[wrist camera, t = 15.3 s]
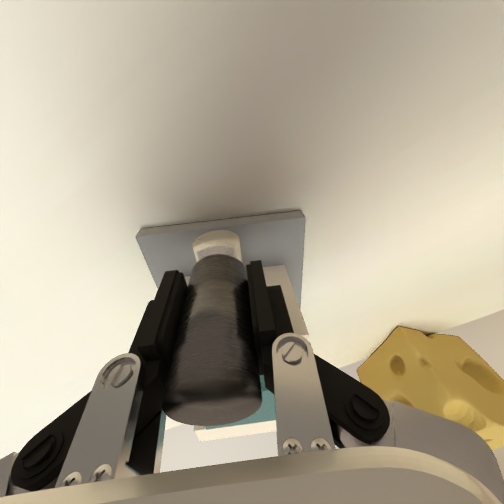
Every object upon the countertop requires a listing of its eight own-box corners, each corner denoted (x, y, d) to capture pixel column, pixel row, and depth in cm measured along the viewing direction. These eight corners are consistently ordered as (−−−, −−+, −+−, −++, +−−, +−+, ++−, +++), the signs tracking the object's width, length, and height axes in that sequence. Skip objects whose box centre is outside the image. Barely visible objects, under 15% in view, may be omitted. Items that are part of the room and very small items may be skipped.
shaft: (191, 233, 13) (146, 388, 6) (242, 227, 13) (259, 373, 6) (232, 386, 23) (233, 510, 16) (261, 382, 23) (275, 504, 16)
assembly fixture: (140, 228, 17) (84, 309, 10) (300, 210, 17) (345, 277, 10) (200, 375, 28) (192, 456, 22) (294, 363, 29) (313, 439, 22)
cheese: (396, 323, 26) (474, 426, 18) (464, 334, 29) (561, 428, 20) (350, 371, 31) (394, 468, 23) (411, 377, 34) (470, 466, 26)
